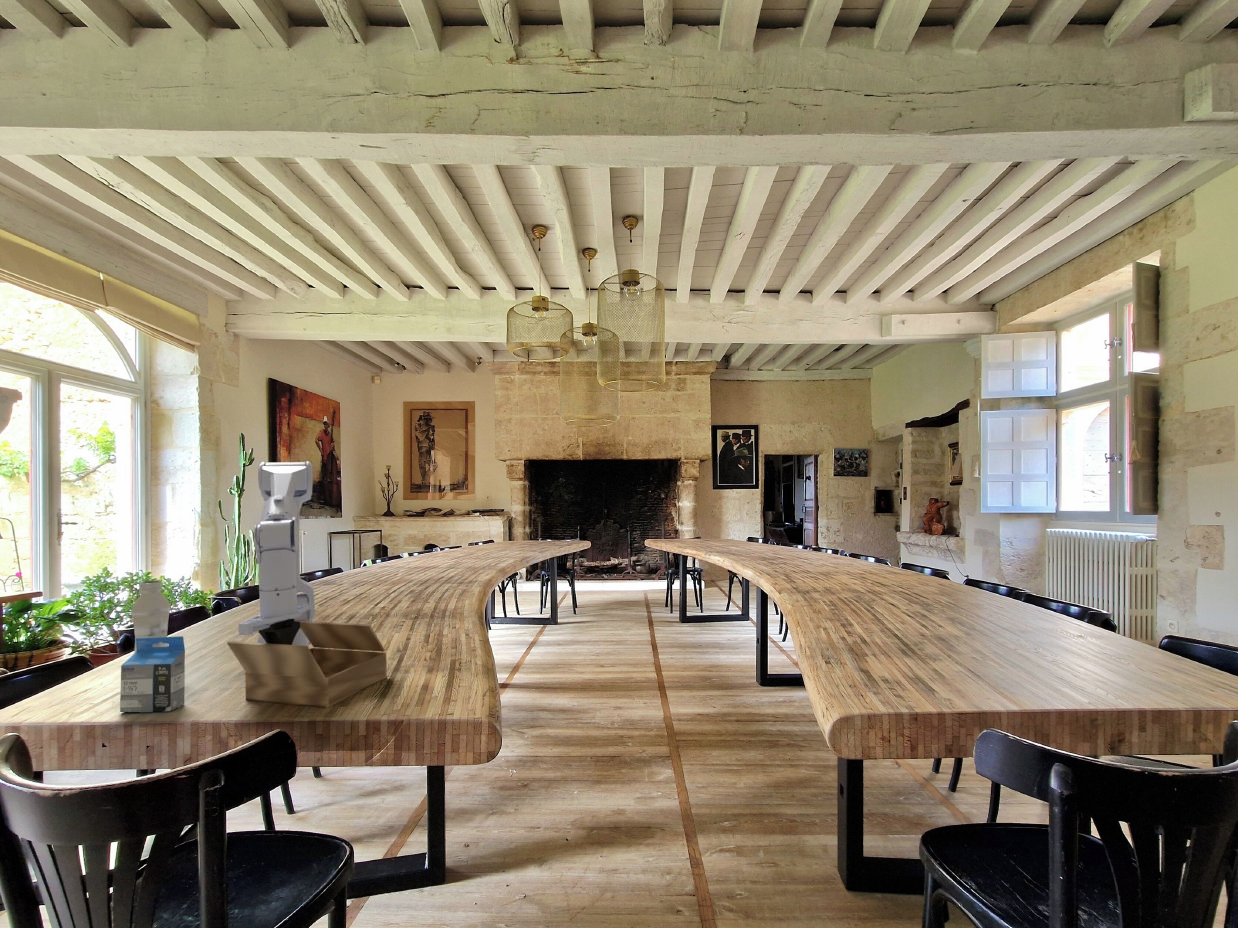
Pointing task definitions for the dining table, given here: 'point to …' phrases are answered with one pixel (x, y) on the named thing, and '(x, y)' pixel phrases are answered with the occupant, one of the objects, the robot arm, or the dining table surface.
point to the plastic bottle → (151, 612)
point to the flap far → (341, 636)
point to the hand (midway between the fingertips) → (280, 664)
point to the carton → (341, 680)
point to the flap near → (276, 659)
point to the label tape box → (154, 676)
